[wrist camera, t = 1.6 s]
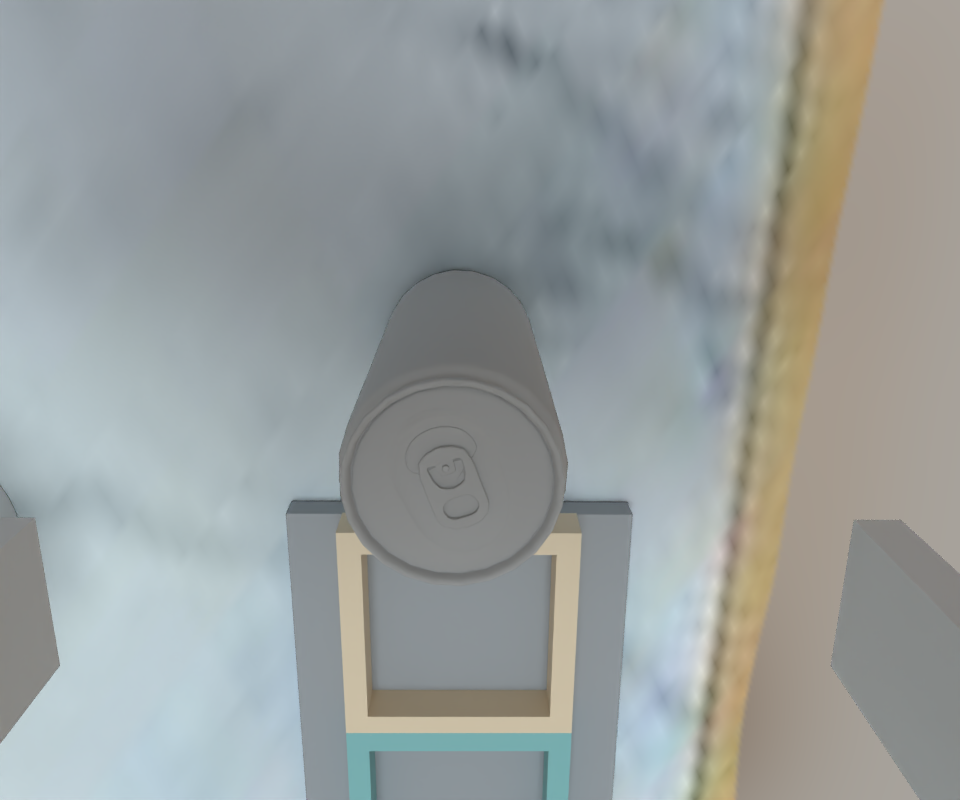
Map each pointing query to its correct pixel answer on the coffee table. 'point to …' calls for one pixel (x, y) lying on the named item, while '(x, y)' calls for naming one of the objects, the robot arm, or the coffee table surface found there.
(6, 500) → the cup
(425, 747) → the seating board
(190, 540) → the coffee table surface
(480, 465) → the beverage can
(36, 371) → the coffee table surface
